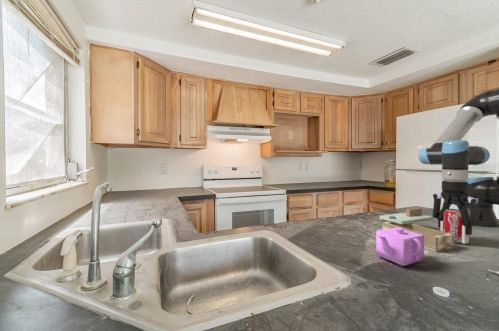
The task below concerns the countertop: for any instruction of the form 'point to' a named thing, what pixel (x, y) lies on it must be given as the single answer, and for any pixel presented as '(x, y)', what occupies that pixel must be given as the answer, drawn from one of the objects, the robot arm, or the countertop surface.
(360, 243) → the countertop surface
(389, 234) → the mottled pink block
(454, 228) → the beverage can
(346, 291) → the countertop surface
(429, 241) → the trough
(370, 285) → the countertop surface
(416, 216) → the cover
